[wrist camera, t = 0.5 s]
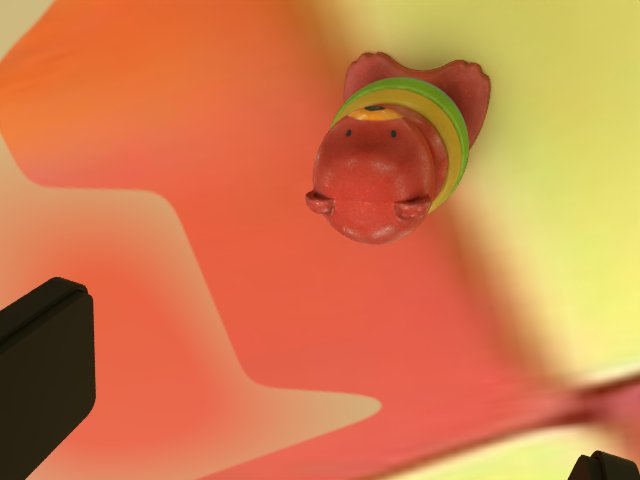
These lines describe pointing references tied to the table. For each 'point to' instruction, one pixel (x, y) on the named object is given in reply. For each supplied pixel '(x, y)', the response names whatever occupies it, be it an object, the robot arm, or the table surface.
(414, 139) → the stacking bear
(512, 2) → the table surface
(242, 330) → the table surface
